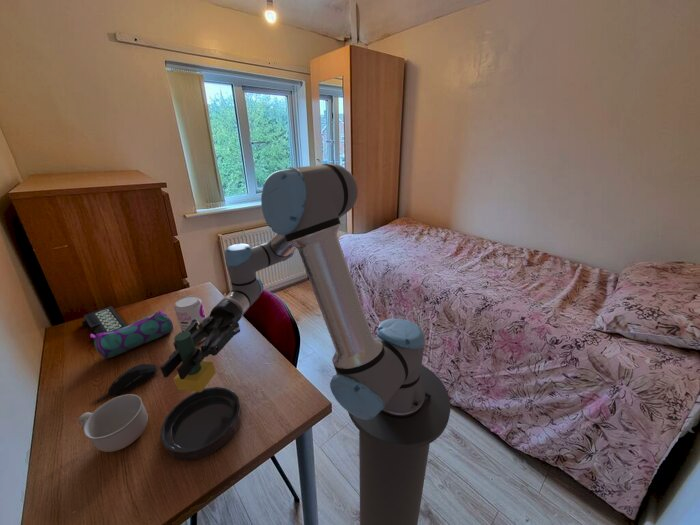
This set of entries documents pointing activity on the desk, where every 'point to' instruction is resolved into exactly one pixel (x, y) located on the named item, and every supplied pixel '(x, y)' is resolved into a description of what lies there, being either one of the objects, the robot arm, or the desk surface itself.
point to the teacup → (115, 423)
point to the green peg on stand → (200, 372)
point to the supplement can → (189, 311)
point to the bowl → (201, 423)
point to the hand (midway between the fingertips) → (172, 373)
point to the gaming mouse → (131, 379)
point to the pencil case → (132, 335)
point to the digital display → (103, 321)
